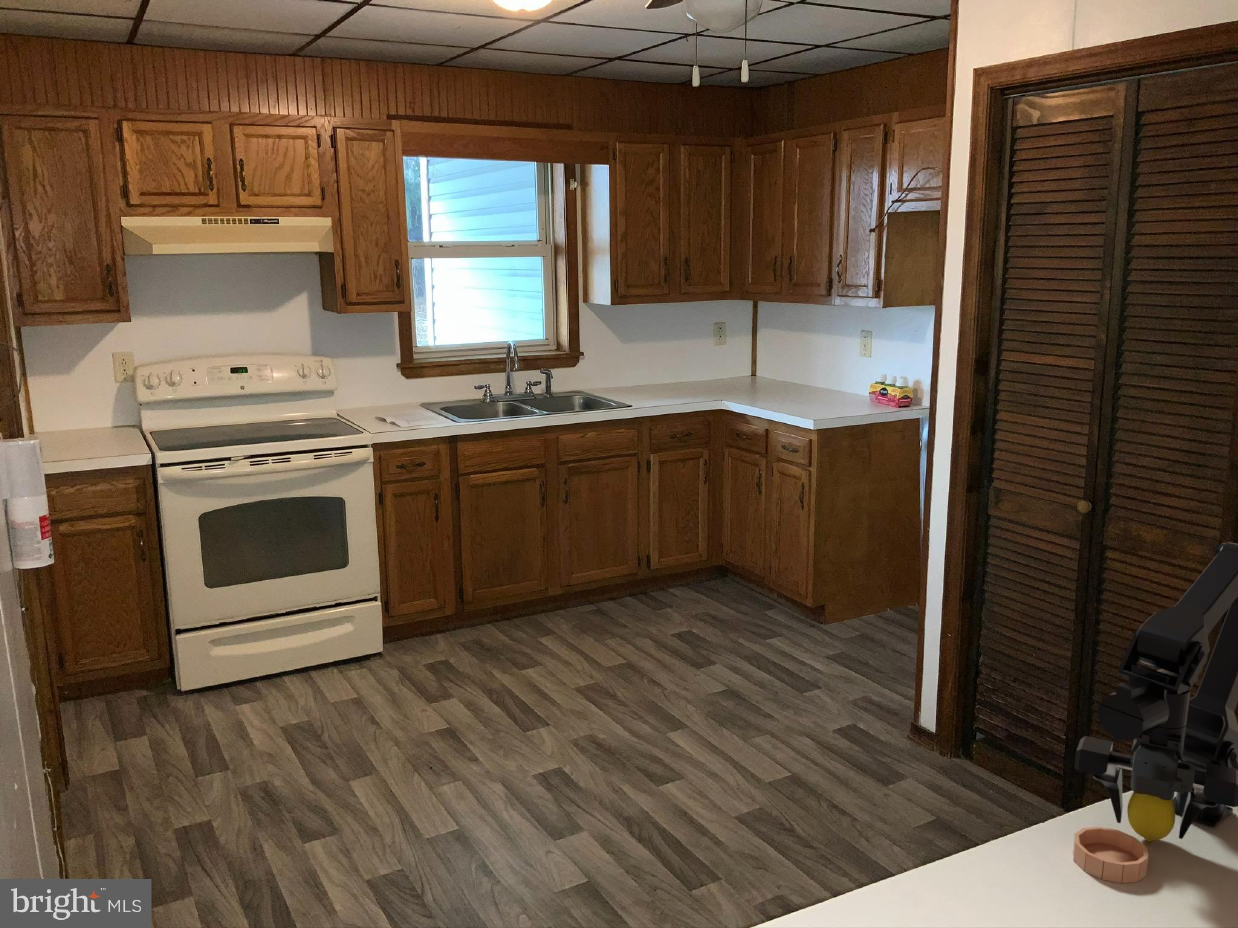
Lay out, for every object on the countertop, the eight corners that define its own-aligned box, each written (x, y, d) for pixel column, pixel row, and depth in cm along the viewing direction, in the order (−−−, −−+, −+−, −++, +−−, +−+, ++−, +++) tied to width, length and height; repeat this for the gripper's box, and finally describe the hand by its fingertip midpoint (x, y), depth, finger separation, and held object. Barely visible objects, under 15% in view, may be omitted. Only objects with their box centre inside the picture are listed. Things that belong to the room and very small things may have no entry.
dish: (1092, 837, 133) (1094, 819, 132) (1157, 865, 127) (1159, 847, 126) (1060, 859, 128) (1062, 842, 127) (1126, 890, 122) (1128, 872, 121)
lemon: (1178, 854, 129) (1184, 797, 127) (1131, 850, 130) (1137, 793, 128) (1164, 831, 134) (1170, 776, 133) (1119, 827, 135) (1125, 772, 134)
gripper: (1073, 726, 127) (1063, 838, 130) (1246, 763, 117) (1231, 883, 120) (1085, 694, 136) (1075, 799, 139) (1246, 726, 127) (1232, 838, 130)
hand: (1149, 829), depth 132 cm, fingers open, 7 cm apart
